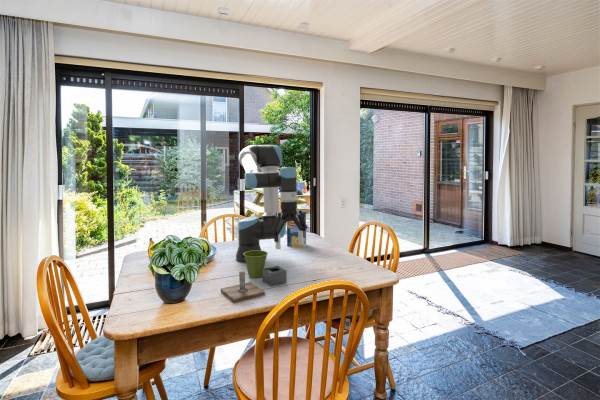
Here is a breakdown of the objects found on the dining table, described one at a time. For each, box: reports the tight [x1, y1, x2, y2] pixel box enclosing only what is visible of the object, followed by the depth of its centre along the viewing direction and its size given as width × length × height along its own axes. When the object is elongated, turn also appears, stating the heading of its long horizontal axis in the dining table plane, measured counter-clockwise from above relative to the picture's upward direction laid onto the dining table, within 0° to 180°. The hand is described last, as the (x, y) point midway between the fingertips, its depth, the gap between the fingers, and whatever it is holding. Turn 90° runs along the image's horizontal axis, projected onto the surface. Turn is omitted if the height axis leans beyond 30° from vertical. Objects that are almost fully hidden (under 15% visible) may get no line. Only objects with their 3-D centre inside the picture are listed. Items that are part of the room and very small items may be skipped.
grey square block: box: [262, 265, 288, 288], centre depth 166 cm, size 8×8×6 cm
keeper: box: [220, 270, 266, 304], centre depth 152 cm, size 14×14×10 cm
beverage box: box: [286, 210, 307, 248], centre depth 231 cm, size 7×11×22 cm, turn 73°
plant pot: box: [243, 249, 269, 279], centre depth 175 cm, size 12×12×11 cm
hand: (289, 246), depth 167 cm, fingers open, 13 cm apart
